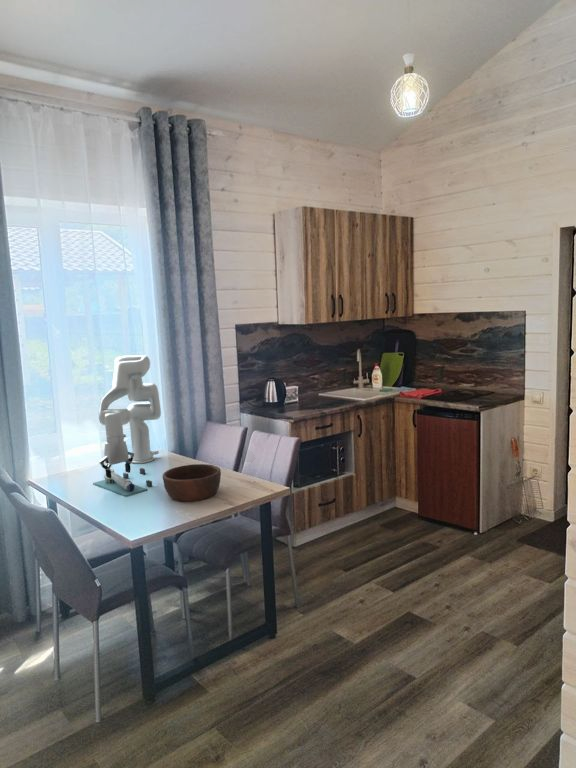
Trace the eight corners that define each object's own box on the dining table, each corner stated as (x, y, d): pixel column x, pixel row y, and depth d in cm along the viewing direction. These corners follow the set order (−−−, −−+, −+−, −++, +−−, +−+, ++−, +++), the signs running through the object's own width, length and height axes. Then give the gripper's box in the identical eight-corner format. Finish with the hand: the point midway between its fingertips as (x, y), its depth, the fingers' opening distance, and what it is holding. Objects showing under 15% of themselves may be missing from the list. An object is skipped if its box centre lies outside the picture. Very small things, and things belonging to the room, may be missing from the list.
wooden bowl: (214, 482, 271) (213, 461, 270) (228, 498, 248) (227, 474, 247) (160, 491, 263) (158, 468, 261) (169, 508, 239) (167, 483, 238)
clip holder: (142, 472, 293) (141, 468, 292) (169, 481, 276) (168, 476, 276) (123, 477, 285) (122, 473, 285) (150, 487, 269) (149, 481, 268)
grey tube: (125, 484, 259) (101, 467, 277) (125, 498, 260) (102, 480, 279) (136, 481, 262) (112, 464, 280) (136, 495, 264) (112, 477, 282)
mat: (114, 478, 285) (114, 477, 285) (147, 490, 264) (147, 488, 264) (93, 484, 278) (92, 482, 278) (125, 496, 256) (125, 495, 256)
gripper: (127, 434, 277) (131, 468, 279) (93, 441, 265) (97, 478, 267) (136, 436, 271) (139, 471, 274) (101, 444, 259) (105, 481, 262)
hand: (118, 474), depth 271 cm, fingers open, 9 cm apart
